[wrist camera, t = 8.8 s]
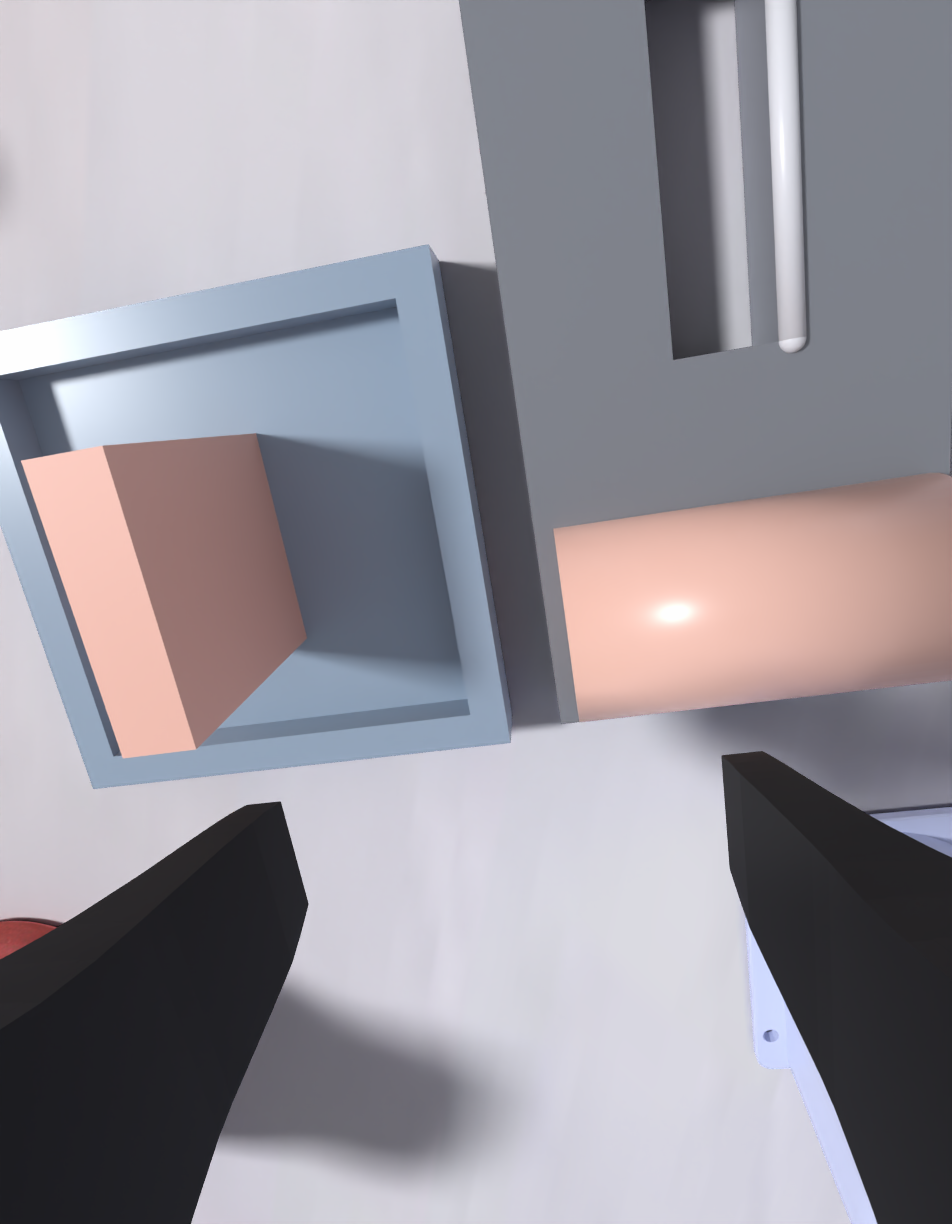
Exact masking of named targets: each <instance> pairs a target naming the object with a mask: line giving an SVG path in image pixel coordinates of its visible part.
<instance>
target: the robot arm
mask: <svg viewBox="0 0 952 1224" xmlns="http://www.w3.org/2000/svg"><path fill="white" fill-rule="evenodd" d="M722 769H723V783H724V796H725V810H726V824H727V837H728V851H729V865H730V871H731V874H732V877H733V880H734V883H735V886H736V889H737V892H738V895H739V898H740V901H741V904H742V907H743V910H744V913H745V923H746V938H747V953H748V968H749V982H750V997H751V1012H752V1027H753V1041H754V1052H755V1055H756V1058H757V1060H758V1063H759V1064H760V1065H761V1066H763V1067H765V1068H768V1069H784V1068H790V1069H791V1071H792V1074H793V1076H794V1079H795V1081H796V1084H797V1087H798V1089H799V1092H800V1094H801V1097H802V1099H803V1102H804V1104H805V1107H806V1110H807V1112H808V1115H809V1117H810V1120H811V1122H812V1125H813V1127H814V1130H815V1133H816V1135H817V1138H818V1140H819V1143H820V1145H821V1148H822V1150H823V1153H824V1156H825V1158H826V1161H827V1163H828V1166H829V1168H830V1171H831V1173H832V1176H833V1179H834V1181H835V1184H836V1186H837V1189H838V1191H839V1194H840V1196H841V1199H842V1202H843V1204H844V1207H845V1209H846V1212H847V1214H848V1217H849V1219H850V1222H851V1224H952V807H945V808H934V809H923V810H912V811H901V812H890V813H880V814H869V815H868V814H866V813H865V812H863V811H861V810H859V809H858V808H856V807H854V806H853V805H851V804H849V803H847V802H846V801H844V800H842V799H841V798H839V797H837V796H836V795H834V794H832V793H831V792H829V791H827V790H826V789H824V788H822V787H821V786H819V785H817V784H816V783H814V782H813V781H811V780H809V779H808V778H806V777H805V776H803V775H801V774H800V773H798V772H797V771H795V770H793V769H792V768H790V767H788V766H787V765H785V764H784V763H782V762H780V761H779V760H777V759H775V758H774V757H772V756H770V755H768V754H767V753H765V752H763V751H760V752H750V753H741V754H731V755H722ZM307 908H308V900H307V897H306V893H305V889H304V886H303V882H302V878H301V875H300V871H299V867H298V863H297V860H296V856H295V852H294V849H293V845H292V841H291V838H290V834H289V830H288V827H287V823H286V819H285V816H284V812H283V808H282V804H281V802H271V803H262V804H252V805H246V806H244V807H242V808H240V809H238V810H236V811H235V812H233V813H231V814H229V815H228V816H226V817H225V818H223V819H221V820H220V821H218V822H217V823H215V824H214V825H212V826H211V827H209V828H208V829H206V830H205V831H203V832H202V833H200V834H199V835H197V836H196V837H194V838H193V839H192V840H190V841H189V842H187V843H186V844H184V845H183V846H181V847H180V848H178V849H177V850H176V851H174V852H173V853H171V854H170V855H168V856H167V857H165V858H164V859H162V860H161V861H160V862H158V863H157V864H155V865H154V866H152V867H151V868H149V869H148V870H146V871H145V872H144V873H142V874H141V875H139V876H138V877H136V878H134V879H133V880H131V881H130V882H128V883H127V884H125V885H124V886H122V887H121V888H119V889H117V890H116V891H114V892H113V893H111V894H110V895H108V896H107V897H105V898H104V899H102V900H100V901H99V902H97V903H96V904H94V905H93V906H91V907H90V908H88V909H86V910H85V911H83V912H82V913H80V914H79V915H77V916H75V917H74V918H72V919H71V920H69V921H67V922H66V923H64V924H62V925H61V926H59V927H57V928H55V929H54V930H52V931H50V932H49V933H47V934H45V935H43V936H42V937H40V938H38V939H36V940H34V941H33V942H31V943H29V944H27V945H25V946H24V947H22V948H20V949H18V950H16V951H15V952H13V953H11V954H9V955H7V956H6V957H4V958H2V959H0V1224H191V1221H192V1218H193V1215H194V1212H195V1209H196V1206H197V1203H198V1199H199V1196H200V1193H201V1190H202V1187H203V1184H204V1181H205V1178H206V1175H207V1172H208V1169H209V1166H210V1163H211V1160H212V1157H213V1154H214V1151H215V1148H216V1145H217V1141H218V1139H219V1136H220V1133H221V1131H222V1128H223V1125H224V1123H225V1120H226V1118H227V1115H228V1113H229V1110H230V1107H231V1105H232V1102H233V1100H234V1098H235V1095H236V1093H237V1091H238V1088H239V1086H240V1084H241V1081H242V1079H243V1077H244V1075H245V1072H246V1070H247V1068H248V1065H249V1063H250V1061H251V1058H252V1056H253V1054H254V1051H255V1049H256V1047H257V1045H258V1042H259V1040H260V1038H261V1035H262V1033H263V1031H264V1028H265V1026H266V1024H267V1021H268V1019H269V1017H270V1015H271V1012H272V1010H273V1008H274V1005H275V1003H276V1000H277V998H278V996H279V993H280V991H281V989H282V986H283V984H284V982H285V979H286V977H287V974H288V972H289V969H290V967H291V964H292V962H293V958H294V955H295V952H296V948H297V945H298V942H299V938H300V935H301V931H302V927H303V923H304V919H305V916H306V912H307ZM767 1030H772V1031H769V1032H766V1031H767Z"/></svg>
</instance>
